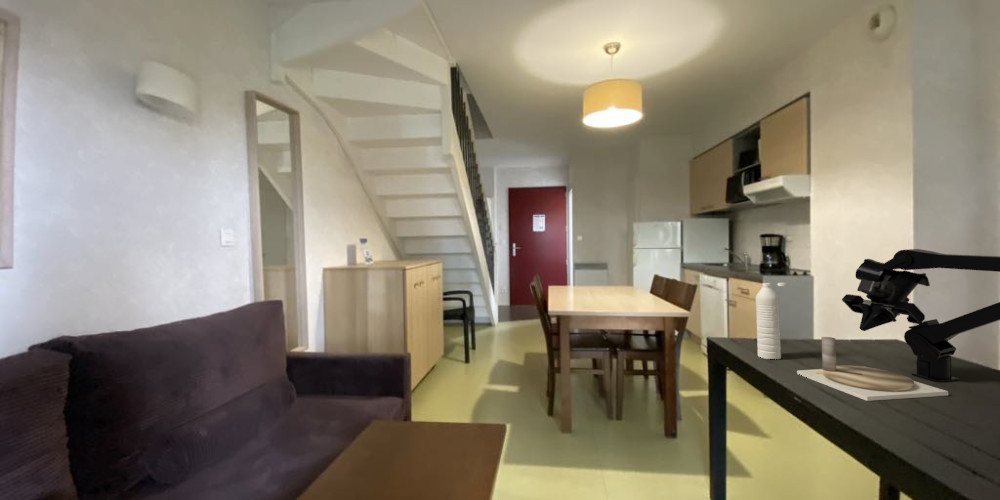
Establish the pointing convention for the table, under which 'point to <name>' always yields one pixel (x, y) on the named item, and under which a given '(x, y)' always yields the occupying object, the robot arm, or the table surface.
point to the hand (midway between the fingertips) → (861, 329)
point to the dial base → (872, 394)
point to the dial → (860, 372)
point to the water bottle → (768, 322)
